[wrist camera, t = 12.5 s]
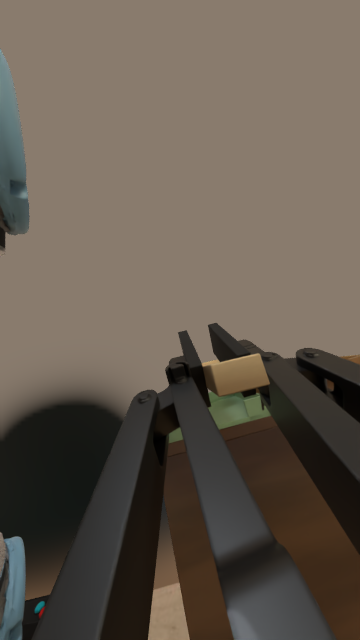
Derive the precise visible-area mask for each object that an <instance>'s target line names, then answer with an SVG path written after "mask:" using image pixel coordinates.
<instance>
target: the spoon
mask: <svg viewBox="0 0 360 640" xmlns="http://www.w3.org/2000/svg"><path fill="white" fill-rule="evenodd" d="M202 366H203V371H204V376H205V381H206V386H207V388H208V389H209V390H211V391H212V392H213V393H214V394H216V395H217V396H218V397H222V396H227V395H231V394H235V393H239V392H243V391H247V390H251V389H255V388H259V387H263V386H267V385H269V384H270V382H269V379H268V376H267V373H266V371H265V368H264V365H263V362H262V359H261V356H260V354H259V353H257V354H253V355H249V356H244V357H240V358H236V359H232V360H228V361H223V362H220V361H219V360H214V361H209V362H205V363H202Z"/></svg>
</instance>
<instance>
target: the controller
mask: <svg viewBox="0 0 360 640" xmlns="http://www.w3.org/2000/svg"><path fill="white" fill-rule="evenodd" d="M49 596H50V595H47V596H43V597H39V598H35V599H30V600H26V601H25V606H24V614H23V621H22V630H23V636H22V640H31V639H32V637H33V634H34V632H35V630H36V627H37V625H38V622H39V620H40V618H41V615H42V613H43V611H44V608H45V606H46V604H47V601H48V599H49Z"/></svg>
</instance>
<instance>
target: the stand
mask: <svg viewBox="0 0 360 640" xmlns="http://www.w3.org/2000/svg"><path fill="white" fill-rule="evenodd" d="M220 432H221V434H222V436H223V438H224V440H225V442H226V444H227V446H228V448H229V450H230V452H231V454H232V456H233V458H234V460H235V461H236V463H237V465H238V467H239V469H240V471H241V473H242V475H243V477H244V479H245V481H246V483H247V485H248V487H249V489H250V491H251V493H252V495H253V496H254V498H255V500H256V502H257V504H258V506H259V508H260V510H261V512H262V514H263V516H264V518H265V520H266V522H267V524H268V526H269V528H270V530H271V531H272V533H273V535H274V537H275V538H276V540H277V541H278V542H279V543H280V544H281V545H283V546H284V547H285V548H286V550H287V551H288V552H289V554H290V555H291V557H292V559H293V560H294V562H295V564H296V565H297V567H298V569H299V571H300V572H301V574H302V576H303V578H304V580H305V582H306V583H307V585H308V587H309V589H310V591H311V593H312V594H313V596H314V598H315V600H316V602H317V604H318V606H319V607H320V609H321V611H322V613H323V615H324V617H325V618H326V620H327V622H328V624H329V626H330V628H331V630H332V631H333V633H334V635H335V637H336V639H337V640H360V555H359V554H358V552H357V550H356V549H355V547H354V546H353V544H352V543H351V541H350V539H349V538H348V536H347V535H346V533H345V531H344V530H343V528H342V527H341V525H340V524H339V522H338V520H337V519H336V517H335V516H334V514H333V512H332V511H331V509H330V508H329V506H328V505H327V503H326V501H325V500H324V498H323V497H322V495H321V493H320V492H319V490H318V489H317V487H316V486H315V484H314V482H313V481H312V479H311V478H310V476H309V474H308V473H307V471H306V470H305V468H304V467H303V465H302V463H301V462H300V460H299V459H298V457H297V455H296V454H295V452H294V451H293V449H292V448H291V446H290V444H289V443H288V441H287V440H286V438H285V436H284V435H283V433H282V432H281V430H280V428H279V427H278V425H277V424H276V422H275V421H274V419H273V417H272V416H268V417H264V418H260V419H257V420H253V421H249V422H246V423H242V424H238V425H235V426H231V427H227V428H224V429H220ZM163 495H164V500H165V506H166V512H167V517H168V522H169V527H170V533H171V539H172V544H173V550H174V555H175V560H176V566H177V572H178V577H179V583H180V588H181V594H182V599H183V605H184V610H185V615H186V621H187V626H188V632H189V637H190V640H234V637H233V634H232V630H231V626H230V622H229V618H228V614H227V610H226V606H225V602H224V598H223V594H222V590H221V586H220V582H219V578H218V573H217V569H216V565H215V561H214V557H213V553H212V549H211V545H210V542H209V538H208V534H207V530H206V526H205V522H204V518H203V514H202V510H201V507H200V503H199V499H198V495H197V491H196V487H195V483H194V479H193V475H192V472H191V468H190V464H189V460H188V456H187V452H186V448H185V444H184V440H180V441H176V442H172V443H169V445H168V455H167V464H166V473H165V483H164V492H163Z"/></svg>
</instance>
